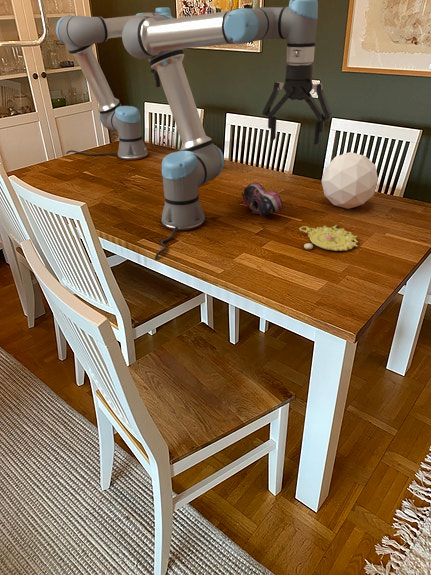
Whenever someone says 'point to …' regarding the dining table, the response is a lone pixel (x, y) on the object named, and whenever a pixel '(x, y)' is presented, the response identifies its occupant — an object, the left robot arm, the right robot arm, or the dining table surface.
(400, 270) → the dining table surface
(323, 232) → the decorative object
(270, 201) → the athletic shoe
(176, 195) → the right robot arm
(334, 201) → the sphere
